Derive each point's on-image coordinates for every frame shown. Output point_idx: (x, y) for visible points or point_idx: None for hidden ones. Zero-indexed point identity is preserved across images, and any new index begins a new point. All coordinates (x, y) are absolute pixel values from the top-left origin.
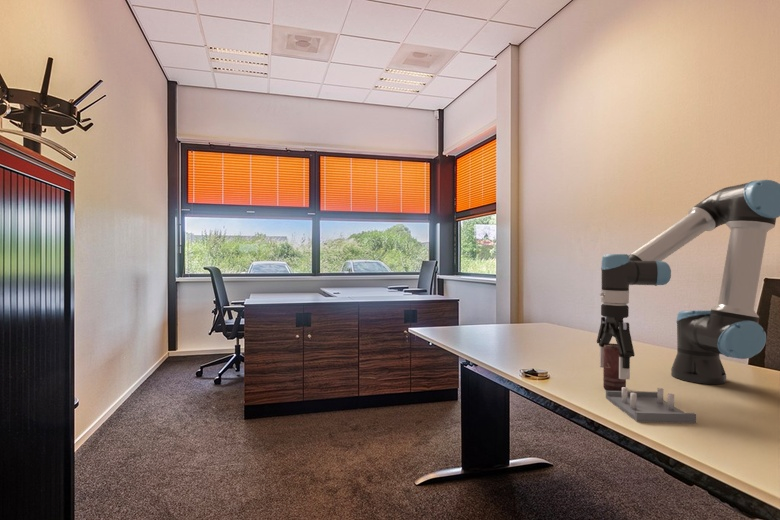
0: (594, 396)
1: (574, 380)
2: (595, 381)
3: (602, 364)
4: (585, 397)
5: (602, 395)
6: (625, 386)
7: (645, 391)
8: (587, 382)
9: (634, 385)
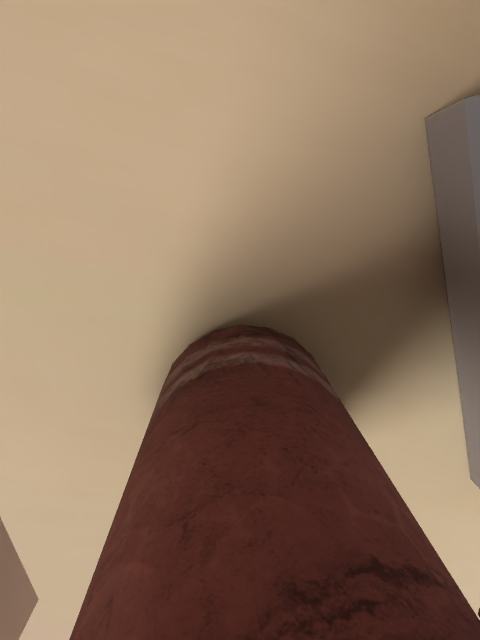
0: (442, 537)
1: (70, 626)
2: (29, 501)
3: (12, 618)
4: (476, 585)
5: (407, 491)
6: (281, 341)
7: (477, 208)
8: (89, 553)
9: (15, 210)
